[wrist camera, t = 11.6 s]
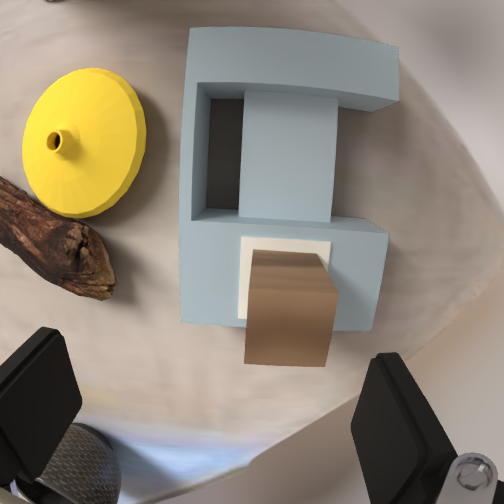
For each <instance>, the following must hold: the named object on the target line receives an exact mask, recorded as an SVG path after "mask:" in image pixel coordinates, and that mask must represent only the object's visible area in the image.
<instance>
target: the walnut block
mask: <svg viewBox="0 0 504 504" xmlns="http://www.w3.org/2000/svg"><path fill="white" fill-rule="evenodd" d="M338 296H339V293H338V291H337V289H336V287H335V285H334V284H333V282H332V280H331V278H330V276H329V275H328V273H327V271H326V269H325V267H324V266H323V264H322V262H321V260H320V258H319V257H318V255H317V253H302V252H287V251H272V250H257V249H253V253H252V262H251V271H250V280H249V290H248V307H247V323H246V340H245V356H244V364H257V365H276V366H304V367H325V364H326V360H327V355H328V350H329V345H330V340H331V335H332V330H333V324H334V319H335V314H336V308H337V302H338Z"/></svg>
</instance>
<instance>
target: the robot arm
mask: <svg viewBox="0 0 504 504" xmlns="http://www.w3.org/2000/svg"><path fill="white" fill-rule="evenodd" d="M50 1H51V0H50ZM81 406H82V397H81V394H80V391H79V388H78V385H77V381H76V378H75V375H74V372H73V368H72V365H71V362H70V358H69V354H68V351H67V347H66V343H65V339H64V337H63V336H62V335H61V334H60V332H59V331H58V330H57V329H52V328H47V327H41V328H40V329H38V330H37V331H36V332H35V333H34V334H33V335H32V336H31V337H30V338H29V339H28V340H27V341H26V342H25V343H23V344H22V345H21V346H20V347H19V348H18V349H17V350H16V351H15V352H14V353H13V354H12V355H11V356H10V357H9V358H8V359H7V360H6V361H5V362H4V363H3V364H2V365H1V366H0V504H31V503H29V502H27V501H25V500H23V499H21V498H19V495H18V491H17V487H16V483H15V478H16V476H17V475H18V477H19V478H20V479H22V480H24V481H26V482H28V483H30V484H33V483H34V481H35V479H36V478H39V477H40V476H41V475H42V473H43V471H44V469H45V468H46V466H47V464H48V462H49V461H50V459H51V457H52V455H53V454H54V452H55V450H56V449H57V447H58V445H59V443H60V442H61V440H62V438H63V437H64V435H65V433H66V432H67V430H68V428H69V427H70V425H71V423H72V422H73V420H74V418H75V417H76V415H77V413H78V412H79V410H80V409H81ZM351 432H352V436H353V440H354V443H355V447H356V450H357V454H358V457H359V461H360V465H361V468H362V472H363V476H364V479H365V483H366V487H367V490H368V495H369V498H370V503H371V504H504V482H502V481H500V480H498V479H497V478H498V472H497V469H496V466H495V465H494V463H493V462H492V461H491V460H490V459H489V458H487V457H486V456H484V455H482V454H479V453H465V454H463V455H460V456H458V455H457V453H456V451H455V449H454V447H453V446H452V444H451V442H450V440H449V438H448V436H447V435H446V433H445V431H444V429H443V427H442V426H441V424H440V422H439V420H438V419H437V417H436V415H435V413H434V411H433V410H432V408H431V406H430V405H429V403H428V401H427V399H426V398H425V396H424V395H423V393H422V392H421V390H420V388H419V387H418V385H417V383H416V382H415V380H414V378H413V377H412V375H411V373H410V372H409V370H408V368H407V367H406V365H405V364H404V362H403V360H402V359H401V357H400V356H399V354H398V353H396V352H392V353H379V354H377V356H376V358H372V359H371V361H370V364H369V367H368V371H367V374H366V378H365V381H364V384H363V388H362V391H361V394H360V397H359V400H358V404H357V407H356V410H355V412H354V416H353V419H352V422H351Z"/></svg>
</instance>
